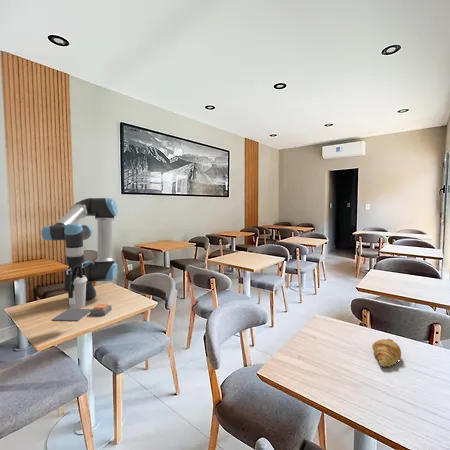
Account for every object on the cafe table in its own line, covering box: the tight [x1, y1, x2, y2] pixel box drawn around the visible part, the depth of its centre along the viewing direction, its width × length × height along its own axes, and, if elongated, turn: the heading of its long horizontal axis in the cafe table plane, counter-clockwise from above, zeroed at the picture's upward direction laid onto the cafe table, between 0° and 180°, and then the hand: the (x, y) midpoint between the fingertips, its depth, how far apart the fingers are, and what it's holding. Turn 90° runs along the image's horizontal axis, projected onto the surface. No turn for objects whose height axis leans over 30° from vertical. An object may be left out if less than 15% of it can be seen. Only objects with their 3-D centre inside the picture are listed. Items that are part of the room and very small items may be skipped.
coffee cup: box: [69, 275, 87, 309], centre depth 131 cm, size 10×10×15 cm
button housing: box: [89, 304, 113, 317], centre depth 149 cm, size 8×8×3 cm
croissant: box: [371, 338, 402, 368], centre depth 108 cm, size 21×10×8 cm, turn 143°
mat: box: [51, 308, 93, 322], centre depth 145 cm, size 14×14×1 cm
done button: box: [93, 303, 109, 310], centre depth 149 cm, size 6×6×2 cm
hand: (77, 300), depth 131 cm, fingers closed on coffee cup, 8 cm apart
